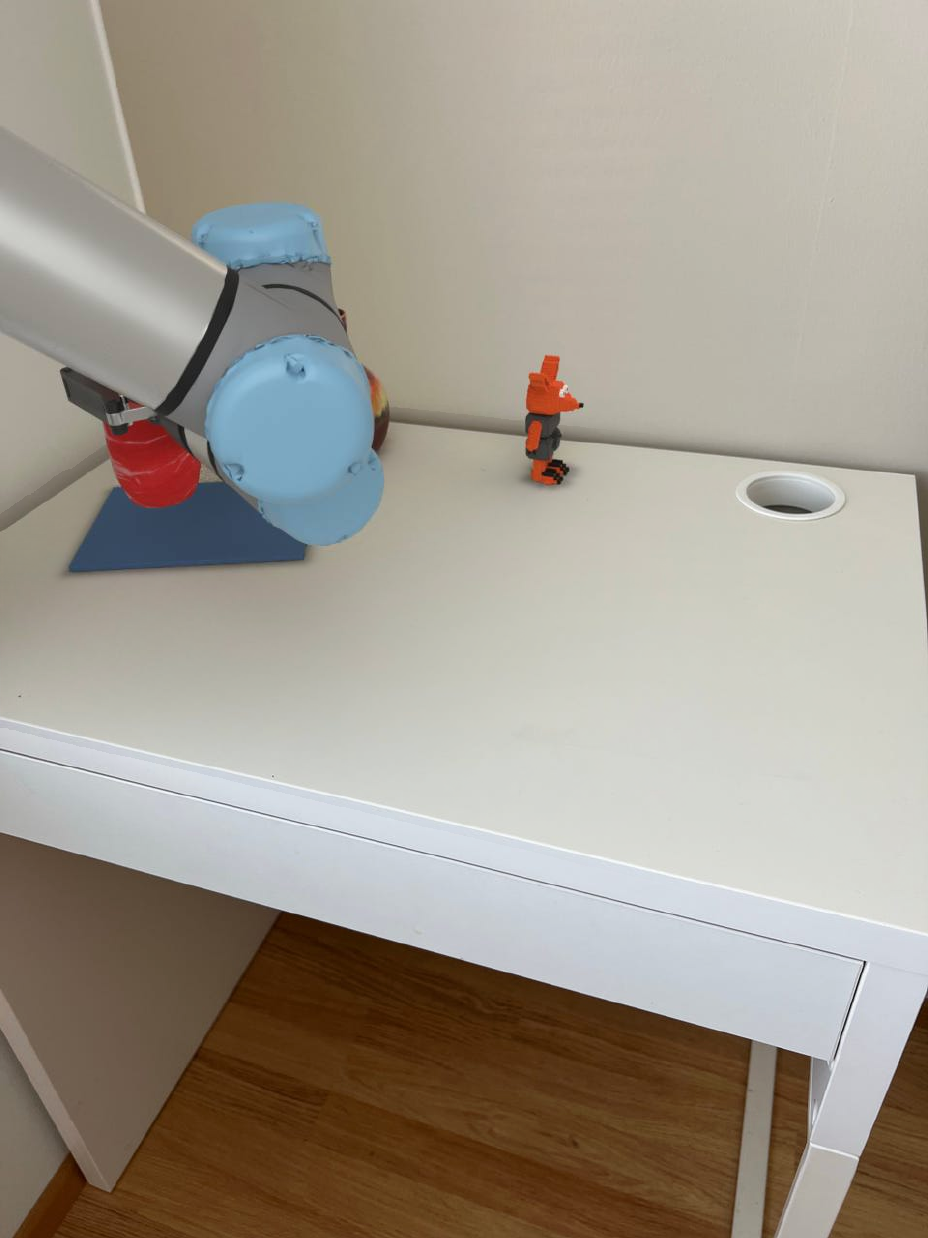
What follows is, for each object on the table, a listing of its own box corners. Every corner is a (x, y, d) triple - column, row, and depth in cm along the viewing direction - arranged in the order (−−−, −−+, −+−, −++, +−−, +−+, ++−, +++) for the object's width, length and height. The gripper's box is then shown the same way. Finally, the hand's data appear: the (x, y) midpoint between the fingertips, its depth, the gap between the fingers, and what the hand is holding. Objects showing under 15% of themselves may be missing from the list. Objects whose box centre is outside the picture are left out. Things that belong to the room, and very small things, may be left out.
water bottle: (258, 482, 93) (206, 196, 79) (217, 522, 87) (152, 219, 73) (145, 472, 96) (76, 195, 82) (97, 510, 90) (14, 217, 76)
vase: (406, 459, 110) (393, 320, 101) (308, 481, 107) (285, 339, 98) (376, 422, 118) (361, 290, 109) (284, 441, 115) (261, 307, 106)
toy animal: (570, 497, 101) (571, 383, 94) (519, 490, 103) (516, 378, 96) (592, 462, 107) (595, 353, 100) (543, 456, 109) (542, 349, 102)
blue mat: (69, 572, 94) (68, 567, 94) (114, 491, 107) (113, 487, 107) (303, 559, 94) (302, 555, 93) (320, 480, 107) (319, 476, 106)
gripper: (108, 512, 69) (14, 410, 84) (358, 428, 78) (232, 350, 93) (78, 409, 64) (-15, 322, 80) (347, 333, 73) (217, 268, 89)
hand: (118, 337), depth 87 cm, fingers closed on water bottle, 7 cm apart
